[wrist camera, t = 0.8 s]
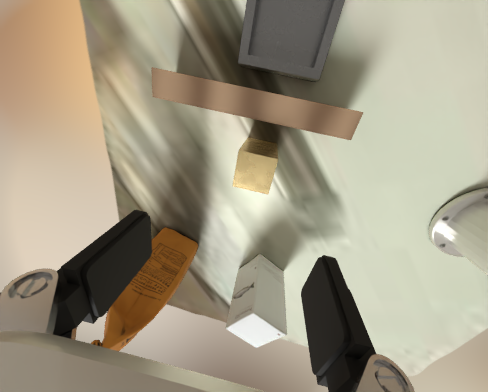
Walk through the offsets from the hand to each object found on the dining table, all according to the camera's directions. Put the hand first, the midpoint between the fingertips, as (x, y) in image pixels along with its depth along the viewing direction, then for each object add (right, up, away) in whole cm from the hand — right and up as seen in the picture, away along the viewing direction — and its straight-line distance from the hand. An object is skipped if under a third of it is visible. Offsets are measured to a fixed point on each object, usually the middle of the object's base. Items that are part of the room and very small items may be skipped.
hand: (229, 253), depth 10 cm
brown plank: (+3, +16, +16) cm, 23 cm away
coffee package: (-15, -9, +32) cm, 36 cm away
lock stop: (+3, +10, +19) cm, 22 cm away
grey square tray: (+6, +24, +12) cm, 27 cm away
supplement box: (+4, -13, +31) cm, 34 cm away
